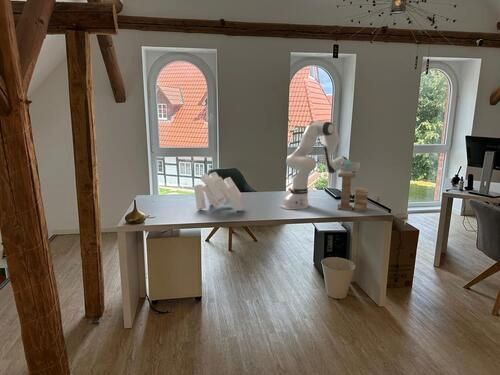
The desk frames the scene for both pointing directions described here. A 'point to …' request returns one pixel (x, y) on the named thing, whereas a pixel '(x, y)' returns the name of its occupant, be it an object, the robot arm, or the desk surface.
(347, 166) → the teal bar
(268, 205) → the desk surface
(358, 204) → the oak block
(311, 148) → the robot arm
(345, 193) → the walnut shelf post
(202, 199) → the pile of blocks
